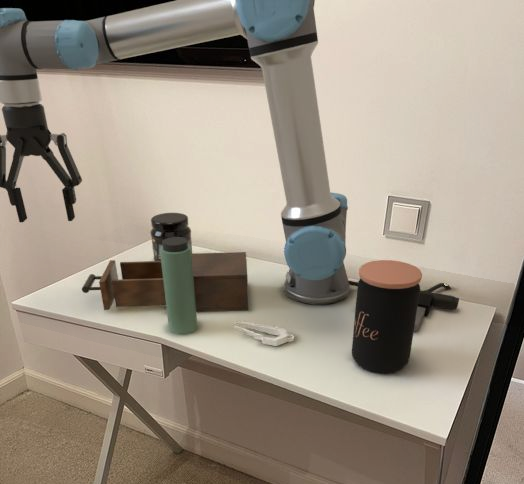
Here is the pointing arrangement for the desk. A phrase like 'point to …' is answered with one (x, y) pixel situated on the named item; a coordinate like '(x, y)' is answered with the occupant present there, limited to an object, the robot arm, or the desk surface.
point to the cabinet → (220, 281)
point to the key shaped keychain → (265, 328)
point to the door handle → (433, 304)
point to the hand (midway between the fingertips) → (47, 219)
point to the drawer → (130, 284)
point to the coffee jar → (385, 315)
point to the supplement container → (168, 230)
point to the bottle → (178, 285)
